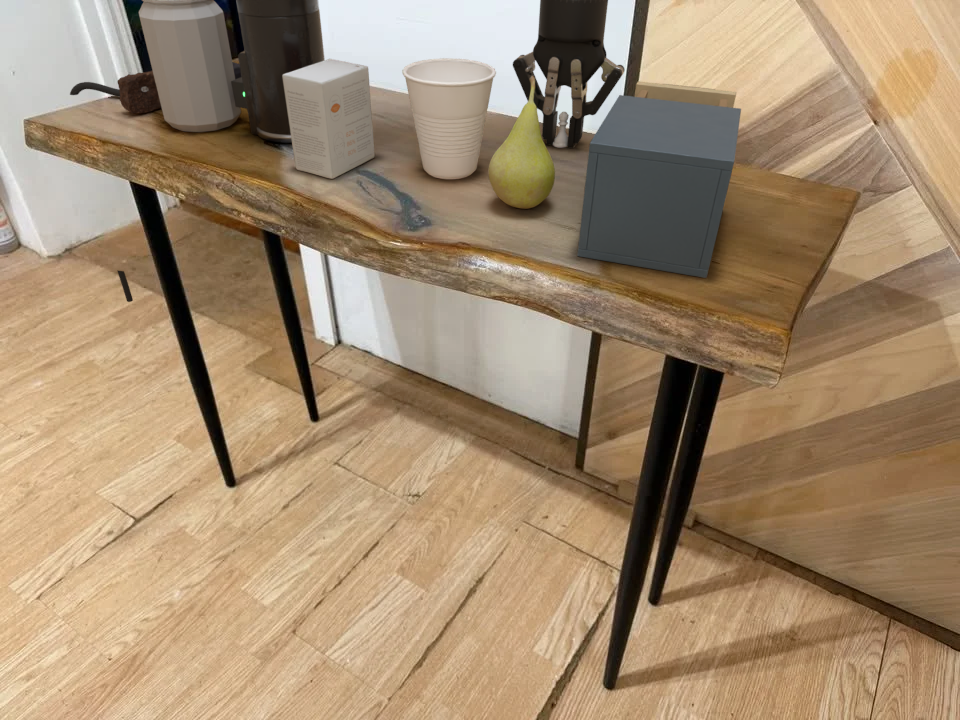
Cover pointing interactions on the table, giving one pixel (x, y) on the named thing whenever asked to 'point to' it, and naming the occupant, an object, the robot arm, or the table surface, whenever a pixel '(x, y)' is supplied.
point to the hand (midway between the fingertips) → (561, 144)
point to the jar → (190, 63)
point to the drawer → (685, 94)
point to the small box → (329, 117)
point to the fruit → (523, 162)
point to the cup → (449, 112)
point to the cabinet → (658, 184)
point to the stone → (139, 92)
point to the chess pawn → (562, 132)
